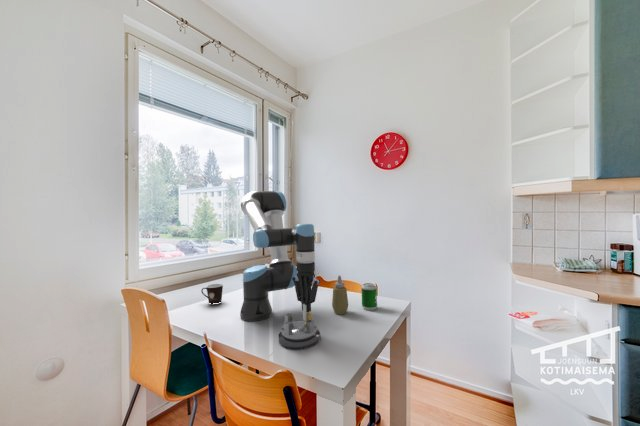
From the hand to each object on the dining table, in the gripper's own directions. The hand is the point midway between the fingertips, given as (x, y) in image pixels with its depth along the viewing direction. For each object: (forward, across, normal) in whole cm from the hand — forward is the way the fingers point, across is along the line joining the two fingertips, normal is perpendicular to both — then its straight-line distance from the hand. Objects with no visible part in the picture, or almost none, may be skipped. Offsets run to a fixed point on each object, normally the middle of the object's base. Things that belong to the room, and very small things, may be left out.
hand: (306, 319), depth 107 cm
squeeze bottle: (+6, +1, +26) cm, 27 cm away
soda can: (+6, +11, +38) cm, 40 cm away
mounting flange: (+6, +1, -6) cm, 8 cm away
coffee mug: (+7, -68, +2) cm, 69 cm away
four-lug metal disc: (+3, +1, -6) cm, 7 cm away
